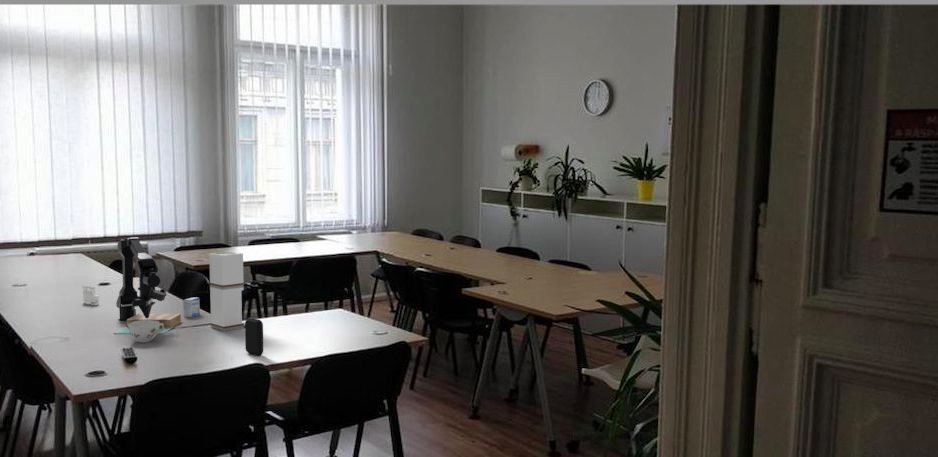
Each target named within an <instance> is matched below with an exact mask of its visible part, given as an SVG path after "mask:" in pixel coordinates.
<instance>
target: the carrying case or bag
mask: <svg viewBox="0 0 938 457" xmlns="http://www.w3.org/2000/svg"><path fill="white" fill-rule="evenodd" d="M243 329H244V331H245V332H244V336H245V338H244V339H245V343H244V344H245V352H247V354H250V355H254V356H257V357H261V356H262V355H263V354H264V323H263V321H262V320H260V319H257V318H251V317H248V318H246V320H245V322H244V328H243Z"/></svg>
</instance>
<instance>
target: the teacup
mask: <svg viewBox="0 0 938 457" xmlns="http://www.w3.org/2000/svg"><path fill="white" fill-rule="evenodd" d="M128 326H129V330H130V333H131V334H130V335H131V337H132V338H133V340H135V341H136V342H138V343H149V342H151V341H153V339H154V338H156V336H157V335H160V334H159V333H161V332H162V331H163V329H164V324H163V323H159V322H158V321H151V320H141V321H134V322H131V323H129V324H128ZM159 326H162V330H161V331H159V332H158V330H159Z"/></svg>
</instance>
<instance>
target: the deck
mask: <svg viewBox="0 0 938 457" xmlns="http://www.w3.org/2000/svg"><path fill="white" fill-rule="evenodd" d="M141 320H151V321H158V322H159V323H163V324H164V328H172V329H173V327H175V326H176V325H178V324H180V323H181V322H182V321H181V320H182V318H181V313H150V315H149V318H145V316H144V314H143V313H138V314H137V313H136V315H135V316H133V317H131V318H129V319H127V320H126V327H129V326H128V324H129V323H131V322H134V321H141ZM159 328H162V326H159Z"/></svg>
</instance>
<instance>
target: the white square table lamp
mask: <svg viewBox="0 0 938 457" xmlns="http://www.w3.org/2000/svg"><path fill="white" fill-rule="evenodd" d="M244 284H245V283H244V253H242V252H237V251H228V254H219V253H212V252H210V253H209V290H210V292H209V294H210V298H209V300H210V327H212V328H213V329H215V328H216V330H218V329H219V330H218V331H222V332H225V331H226V330H227V331H232V329H233V330H239V329H244V325H245V322H243V312H242V311H243V310H242V307H243V303H242V301H243V299H242V296H243V295H242V291H244V290H245V289H244V286H245V285H244ZM238 328H239V329H238ZM227 331H226V332H227Z"/></svg>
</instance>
